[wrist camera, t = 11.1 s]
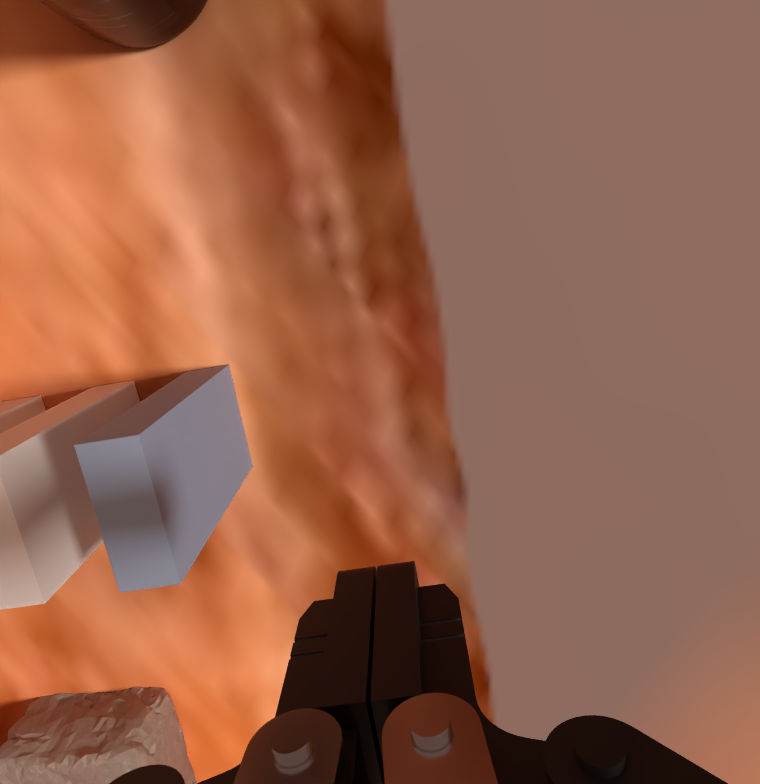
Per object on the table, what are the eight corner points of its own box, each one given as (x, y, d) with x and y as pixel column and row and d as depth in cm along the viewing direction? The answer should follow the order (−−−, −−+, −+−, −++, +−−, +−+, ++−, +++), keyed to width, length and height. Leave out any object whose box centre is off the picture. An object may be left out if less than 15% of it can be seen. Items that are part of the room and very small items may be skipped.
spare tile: (252, 466, 29) (180, 584, 19) (212, 472, 29) (119, 592, 19) (229, 364, 27) (138, 434, 18) (186, 371, 28) (73, 444, 18)
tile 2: (161, 480, 29) (44, 603, 19) (121, 486, 29) (-15, 611, 19) (134, 380, 28) (-6, 458, 18) (92, 387, 28) (-68, 467, 18)
